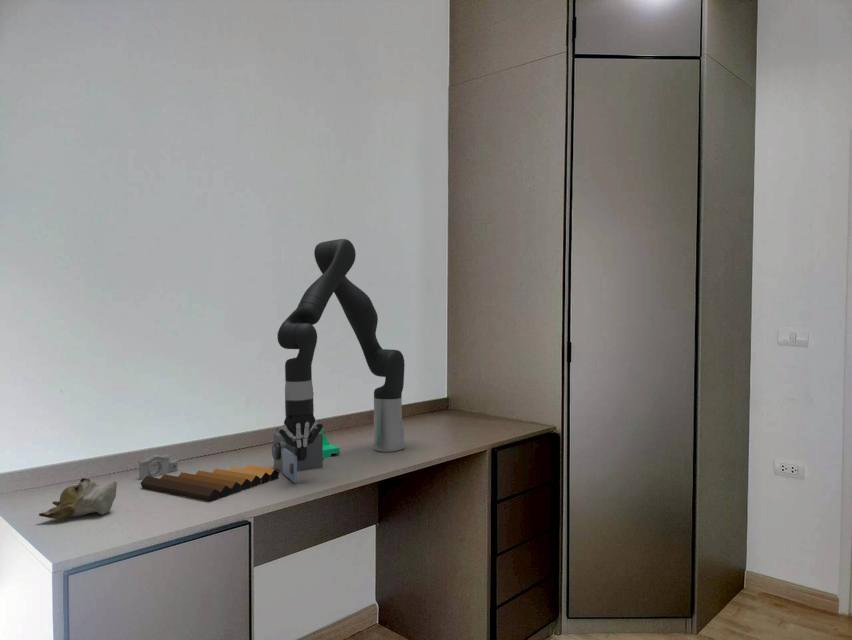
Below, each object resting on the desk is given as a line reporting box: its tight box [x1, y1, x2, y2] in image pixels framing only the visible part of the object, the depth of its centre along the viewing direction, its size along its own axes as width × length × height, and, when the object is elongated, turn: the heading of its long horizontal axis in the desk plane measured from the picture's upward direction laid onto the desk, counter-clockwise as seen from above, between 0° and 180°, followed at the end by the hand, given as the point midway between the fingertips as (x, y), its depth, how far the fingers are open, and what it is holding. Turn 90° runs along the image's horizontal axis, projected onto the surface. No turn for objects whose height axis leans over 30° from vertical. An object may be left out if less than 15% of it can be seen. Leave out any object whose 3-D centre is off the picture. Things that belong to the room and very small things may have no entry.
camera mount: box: [311, 427, 340, 459], centre depth 202 cm, size 12×8×10 cm, turn 131°
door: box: [280, 447, 298, 484], centre depth 175 cm, size 12×2×7 cm, turn 28°
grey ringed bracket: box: [137, 453, 179, 480], centre depth 179 cm, size 12×2×6 cm, turn 149°
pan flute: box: [140, 464, 280, 503], centre depth 171 cm, size 25×3×25 cm
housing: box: [271, 429, 324, 472], centre depth 186 cm, size 13×10×11 cm
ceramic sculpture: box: [38, 477, 118, 520], centre depth 145 cm, size 11×9×15 cm
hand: (300, 460), depth 172 cm, fingers closed
